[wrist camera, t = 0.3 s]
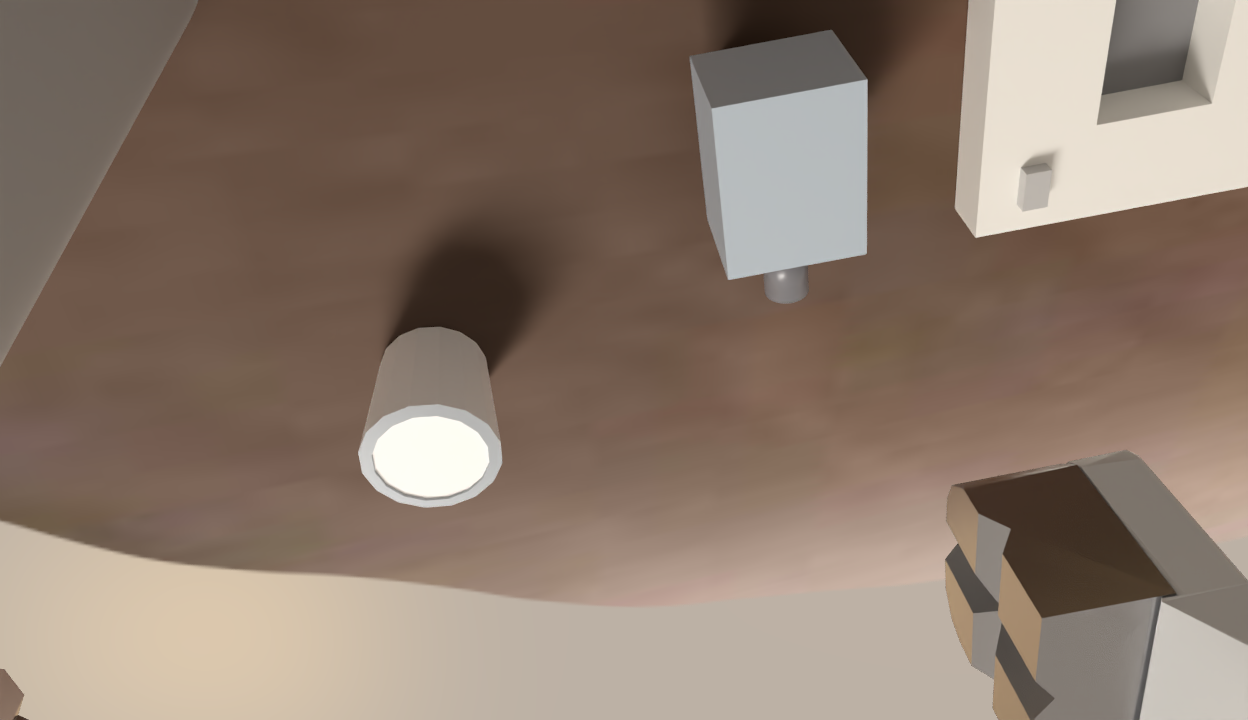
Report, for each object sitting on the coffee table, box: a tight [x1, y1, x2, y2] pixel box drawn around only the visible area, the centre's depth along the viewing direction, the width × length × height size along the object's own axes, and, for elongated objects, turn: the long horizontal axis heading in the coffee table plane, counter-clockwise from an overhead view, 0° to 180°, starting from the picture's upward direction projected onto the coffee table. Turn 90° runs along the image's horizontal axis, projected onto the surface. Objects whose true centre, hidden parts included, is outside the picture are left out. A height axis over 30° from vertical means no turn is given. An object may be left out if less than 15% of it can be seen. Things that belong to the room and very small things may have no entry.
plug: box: [690, 30, 868, 303], centre depth 46 cm, size 11×6×8 cm, turn 8°
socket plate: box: [955, 0, 1248, 238], centre depth 47 cm, size 16×16×4 cm
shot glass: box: [358, 327, 502, 507], centre depth 53 cm, size 7×7×7 cm
